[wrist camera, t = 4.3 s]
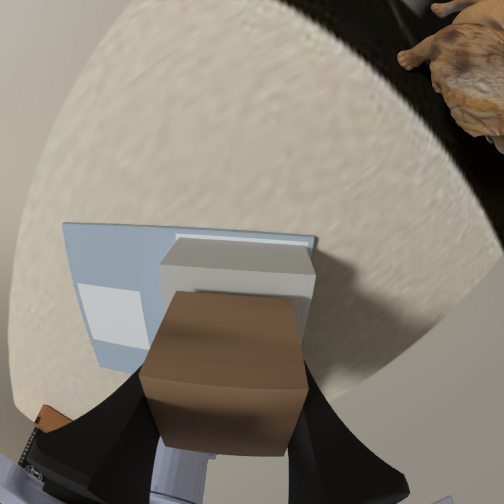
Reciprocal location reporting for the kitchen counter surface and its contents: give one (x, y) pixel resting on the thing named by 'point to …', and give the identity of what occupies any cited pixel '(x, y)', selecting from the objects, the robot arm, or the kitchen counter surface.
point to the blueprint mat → (133, 281)
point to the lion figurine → (468, 65)
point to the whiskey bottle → (43, 424)
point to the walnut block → (226, 374)
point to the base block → (240, 272)
